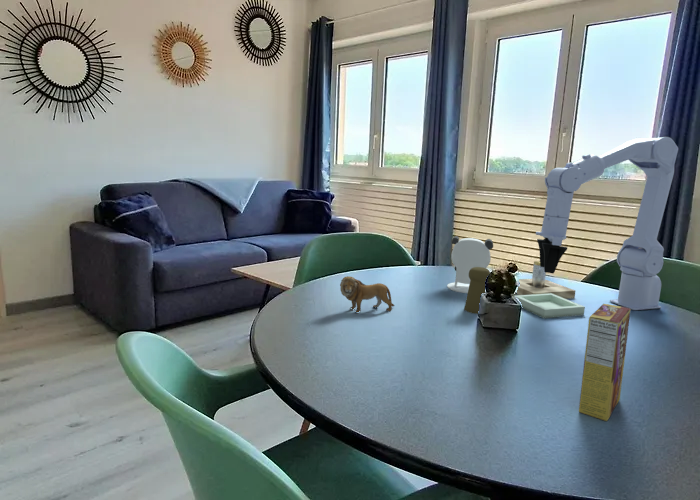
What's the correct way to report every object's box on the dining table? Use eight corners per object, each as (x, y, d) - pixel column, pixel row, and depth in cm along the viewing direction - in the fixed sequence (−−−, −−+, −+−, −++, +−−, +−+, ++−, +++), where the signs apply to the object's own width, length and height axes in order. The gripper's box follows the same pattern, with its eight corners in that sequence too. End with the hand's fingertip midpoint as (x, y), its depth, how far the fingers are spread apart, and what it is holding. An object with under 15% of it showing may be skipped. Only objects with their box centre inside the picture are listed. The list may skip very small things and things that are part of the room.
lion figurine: (343, 316, 109) (345, 279, 108) (335, 310, 114) (336, 274, 113) (399, 310, 115) (400, 275, 113) (389, 304, 120) (390, 270, 118)
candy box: (590, 390, 77) (603, 302, 74) (620, 400, 74) (634, 308, 72) (575, 411, 70) (588, 315, 68) (607, 422, 68) (622, 322, 65)
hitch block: (540, 285, 144) (541, 278, 144) (574, 298, 131) (575, 290, 131) (502, 287, 140) (502, 280, 140) (532, 301, 127) (533, 293, 127)
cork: (489, 315, 114) (493, 271, 112) (464, 312, 115) (468, 269, 113) (487, 307, 120) (491, 266, 118) (463, 305, 121) (467, 264, 119)
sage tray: (550, 301, 128) (551, 293, 127) (583, 315, 116) (584, 306, 116) (513, 303, 124) (513, 295, 124) (543, 318, 113) (544, 309, 113)
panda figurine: (488, 285, 142) (493, 237, 139) (489, 295, 131) (494, 243, 128) (448, 281, 145) (452, 234, 142) (445, 291, 134) (449, 239, 131)
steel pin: (538, 290, 138) (541, 260, 136) (546, 293, 135) (549, 263, 133) (528, 291, 137) (531, 261, 135) (536, 294, 134) (539, 263, 132)
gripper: (535, 212, 124) (526, 262, 126) (543, 216, 110) (533, 272, 112) (564, 215, 122) (554, 266, 124) (575, 220, 108) (564, 277, 111)
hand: (546, 269), depth 118 cm, fingers open, 7 cm apart
